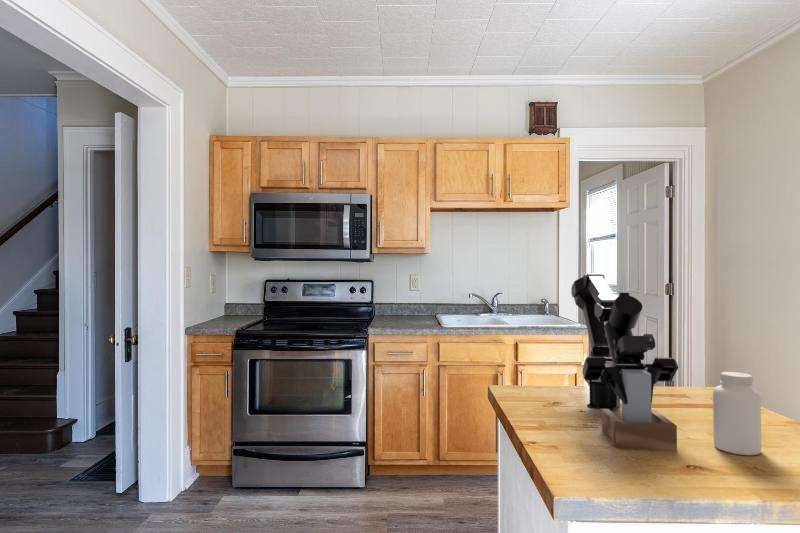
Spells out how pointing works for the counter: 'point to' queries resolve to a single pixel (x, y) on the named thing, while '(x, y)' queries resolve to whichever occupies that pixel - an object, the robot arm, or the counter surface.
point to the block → (636, 395)
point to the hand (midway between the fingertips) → (638, 403)
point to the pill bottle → (737, 415)
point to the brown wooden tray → (640, 432)
